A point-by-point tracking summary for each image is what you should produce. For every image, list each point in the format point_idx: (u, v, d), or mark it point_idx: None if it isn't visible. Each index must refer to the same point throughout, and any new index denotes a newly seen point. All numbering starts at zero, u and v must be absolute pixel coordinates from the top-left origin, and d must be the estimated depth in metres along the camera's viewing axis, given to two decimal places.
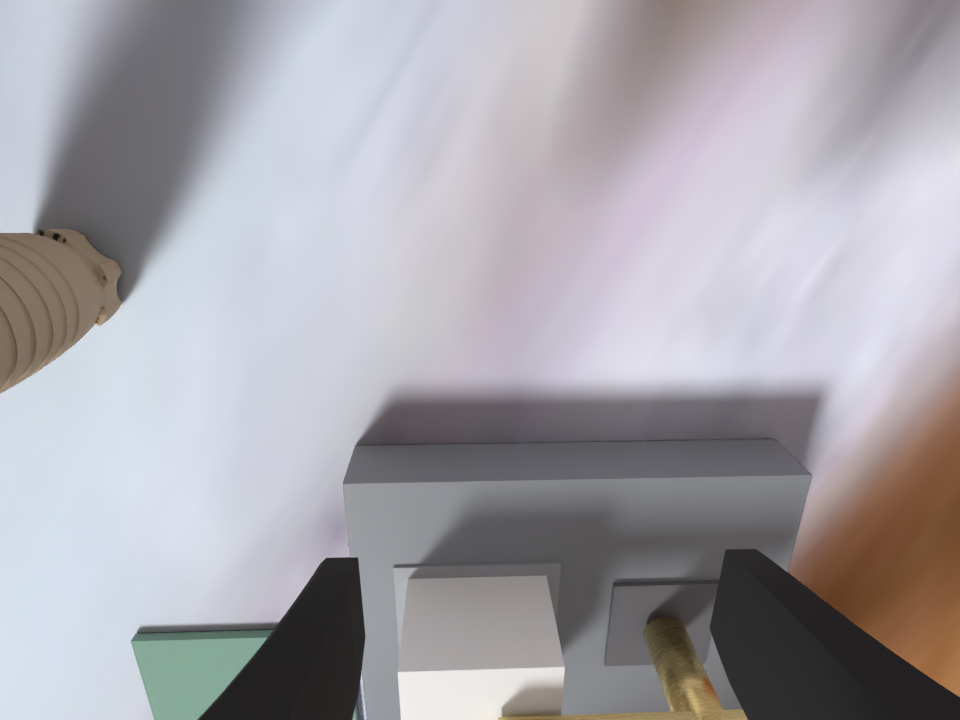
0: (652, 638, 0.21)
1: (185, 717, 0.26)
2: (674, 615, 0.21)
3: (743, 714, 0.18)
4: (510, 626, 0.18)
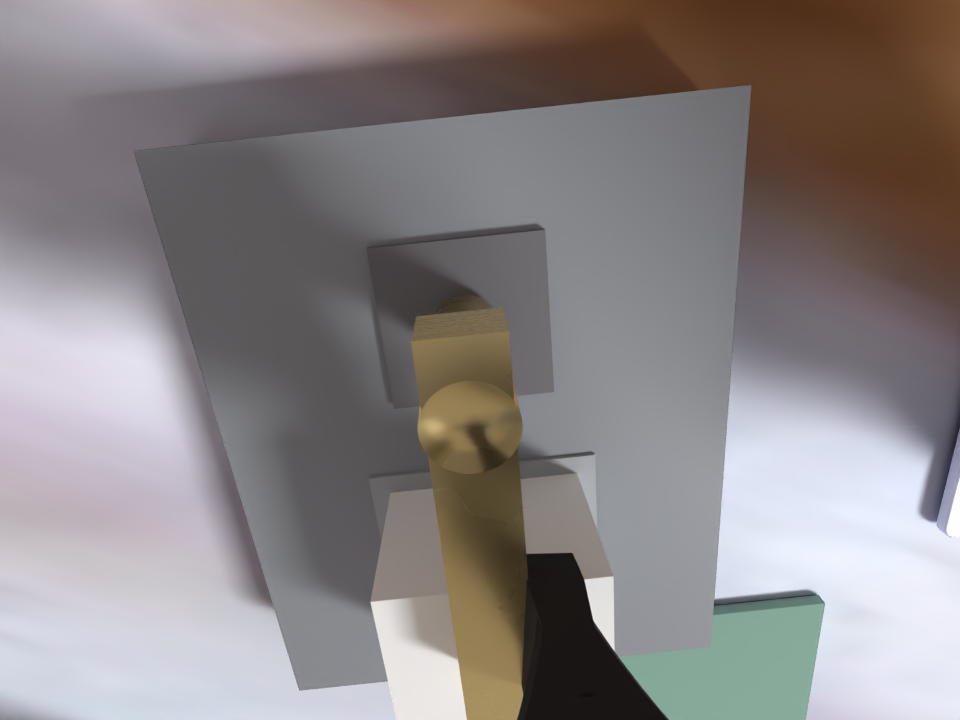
0: None
1: None
2: None
3: None
4: None
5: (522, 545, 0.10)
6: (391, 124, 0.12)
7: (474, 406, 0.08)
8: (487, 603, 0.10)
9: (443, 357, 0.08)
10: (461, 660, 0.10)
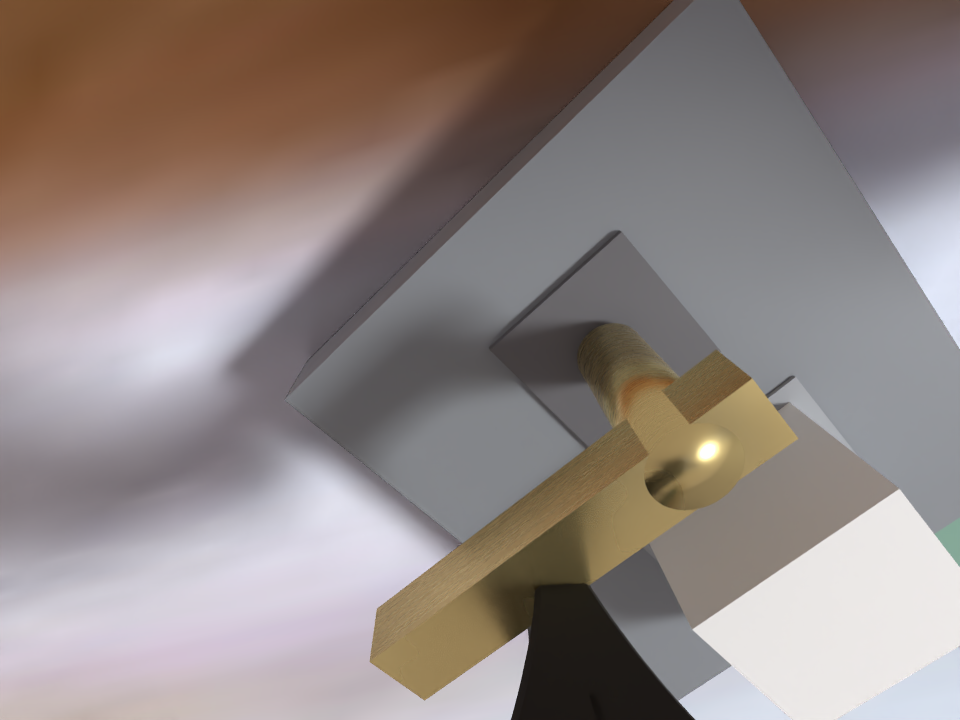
0: (584, 372, 0.13)
1: None
2: None
3: (700, 368, 0.09)
4: None
5: (602, 571, 0.10)
6: (444, 245, 0.13)
7: (717, 458, 0.09)
8: (523, 587, 0.10)
9: (750, 410, 0.09)
10: (444, 610, 0.10)
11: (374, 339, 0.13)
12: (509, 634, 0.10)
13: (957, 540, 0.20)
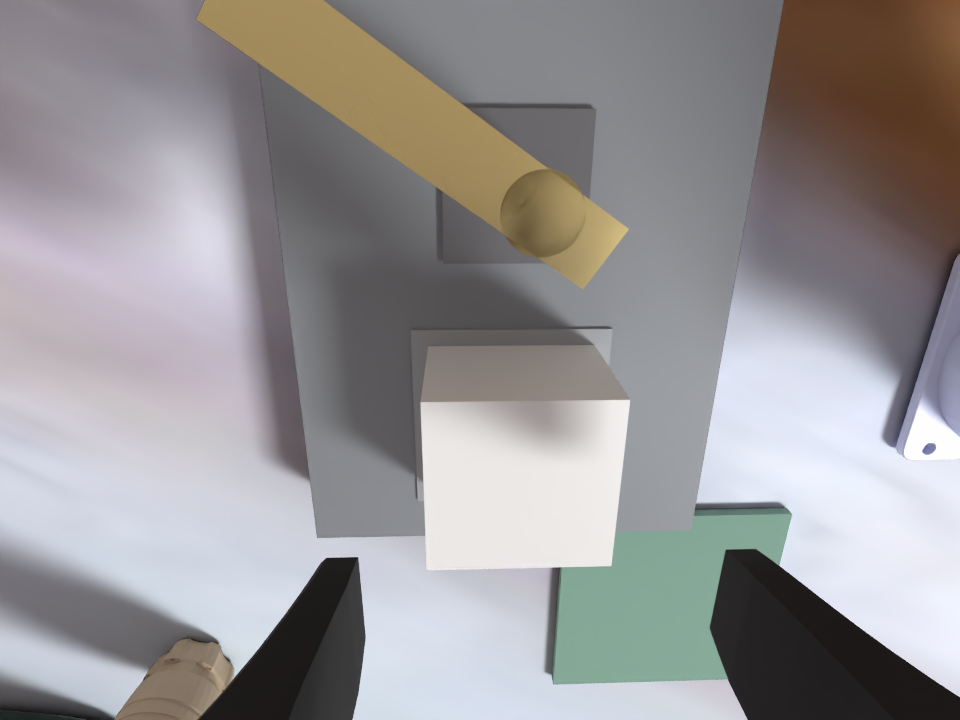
0: None
1: (660, 658, 0.25)
2: None
3: None
4: None
5: (418, 171, 0.10)
6: None
7: (555, 230, 0.11)
8: (382, 95, 0.10)
9: (602, 239, 0.11)
10: (332, 12, 0.09)
11: (364, 15, 0.14)
12: (319, 96, 0.10)
13: (604, 574, 0.23)
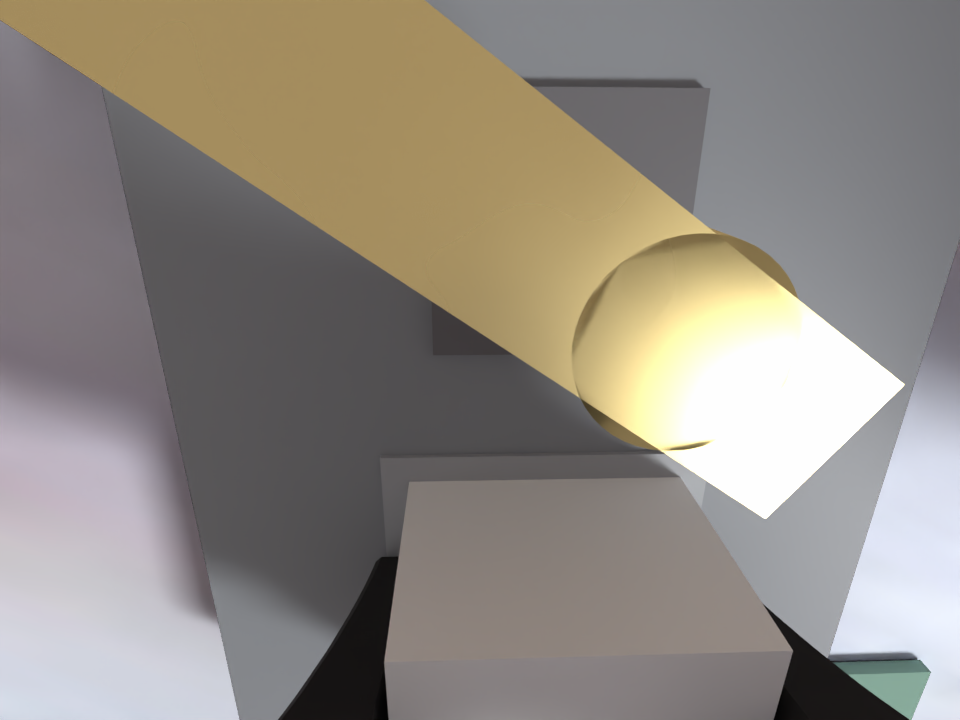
0: None
1: None
2: None
3: None
4: None
5: (347, 236, 0.04)
6: None
7: (714, 388, 0.04)
8: (223, 6, 0.03)
9: (831, 409, 0.04)
10: None
11: None
12: (20, 10, 0.03)
13: None
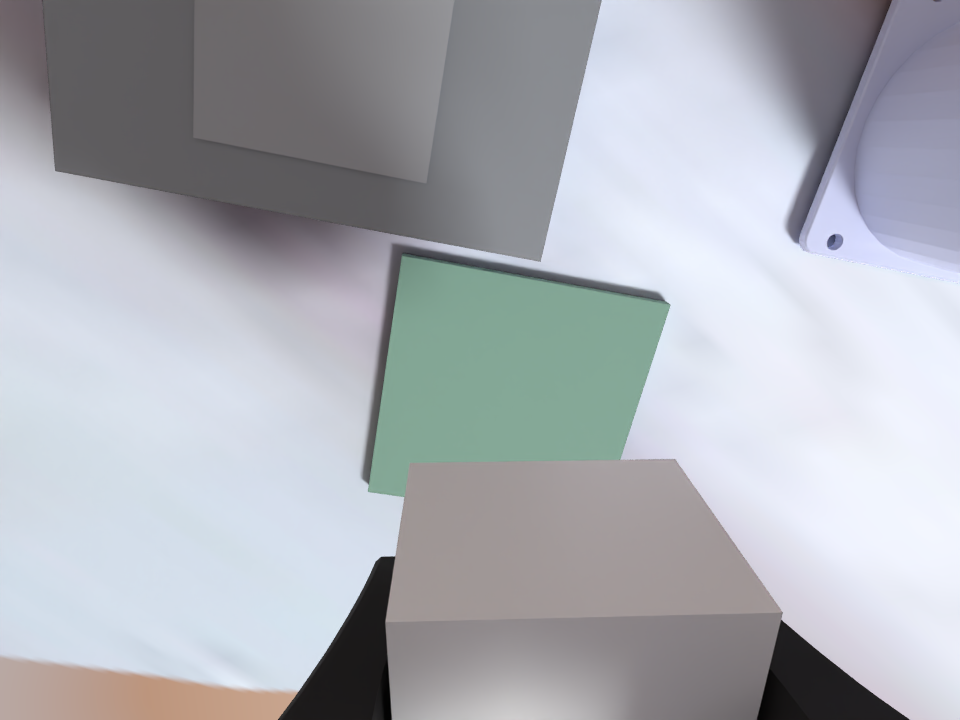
0: None
1: None
2: None
3: None
4: None
5: None
6: None
7: None
8: None
9: None
10: None
11: None
12: None
13: (442, 346, 0.19)
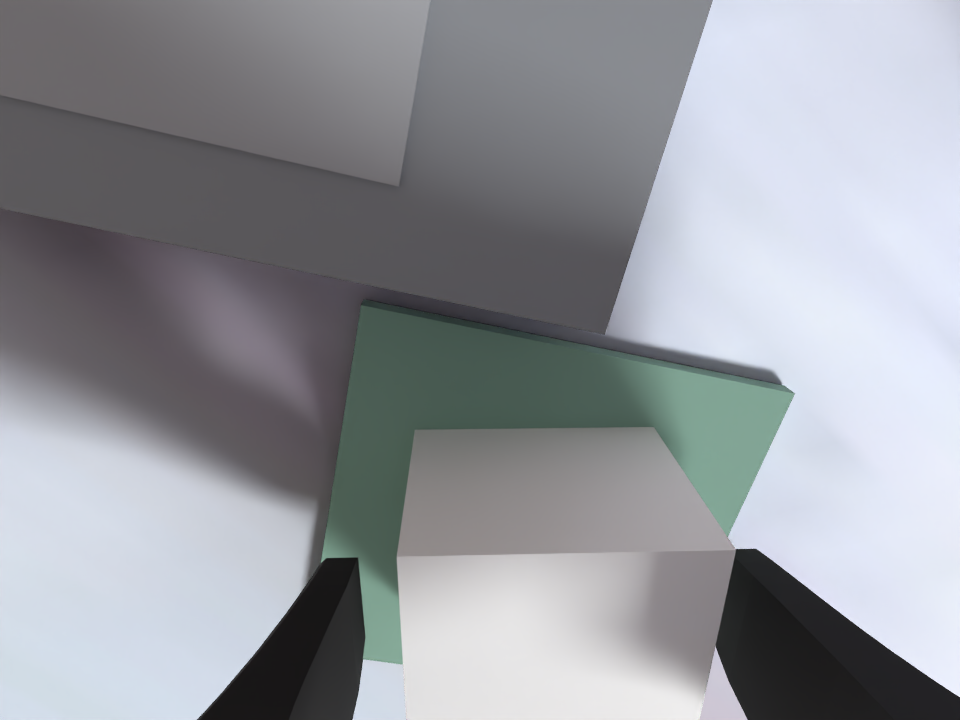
0: None
1: None
2: None
3: None
4: None
5: None
6: None
7: None
8: None
9: None
10: None
11: None
12: None
13: None
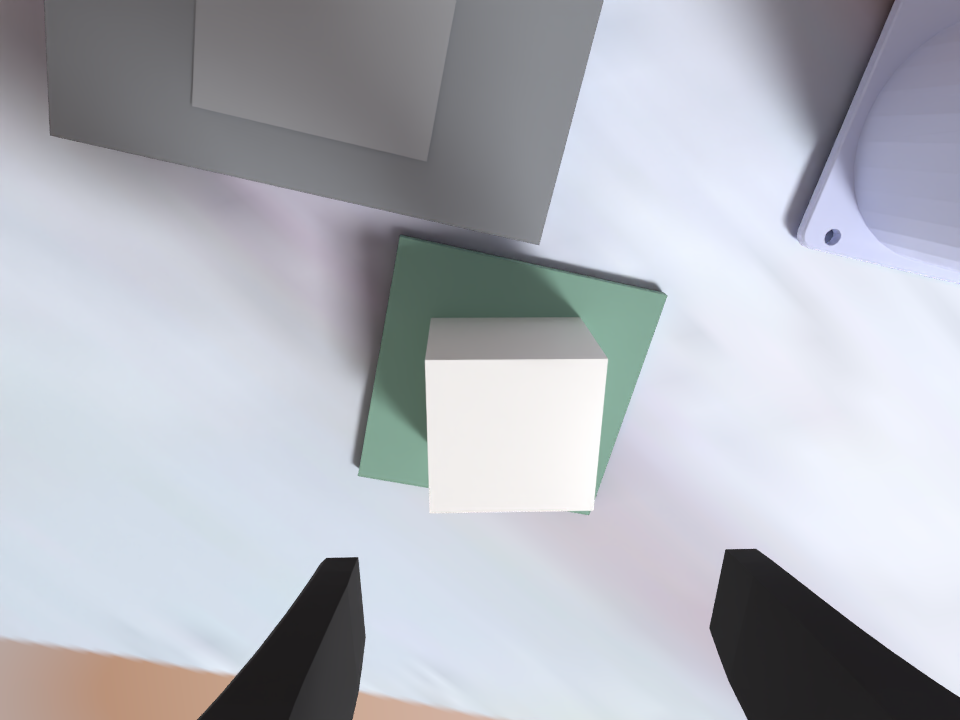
0: None
1: None
2: None
3: None
4: None
5: None
6: None
7: None
8: None
9: None
10: None
11: None
12: None
13: None
